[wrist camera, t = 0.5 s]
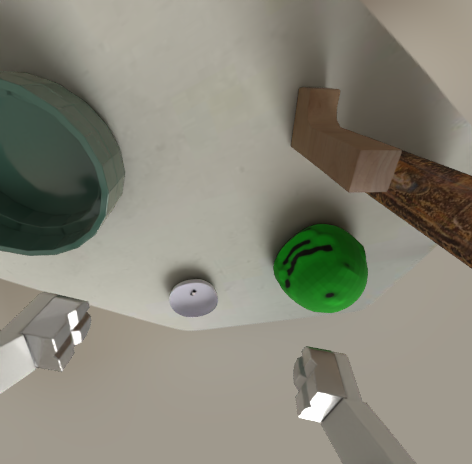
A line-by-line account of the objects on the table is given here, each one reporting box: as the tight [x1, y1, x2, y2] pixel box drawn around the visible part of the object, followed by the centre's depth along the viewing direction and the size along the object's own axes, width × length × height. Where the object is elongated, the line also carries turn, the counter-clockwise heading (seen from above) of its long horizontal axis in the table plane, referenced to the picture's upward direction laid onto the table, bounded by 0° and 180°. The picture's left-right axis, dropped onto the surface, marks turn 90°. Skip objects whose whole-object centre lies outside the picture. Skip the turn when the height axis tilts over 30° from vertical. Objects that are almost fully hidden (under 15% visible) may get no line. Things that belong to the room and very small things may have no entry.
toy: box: [273, 224, 368, 313], centre depth 37 cm, size 14×13×10 cm
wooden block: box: [291, 87, 402, 192], centre depth 24 cm, size 7×3×15 cm, turn 178°
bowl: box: [0, 71, 125, 256], centre depth 27 cm, size 17×17×7 cm
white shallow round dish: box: [169, 279, 218, 317], centre depth 42 cm, size 8×8×2 cm
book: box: [365, 150, 472, 268], centre depth 25 cm, size 16×6×25 cm, turn 58°
